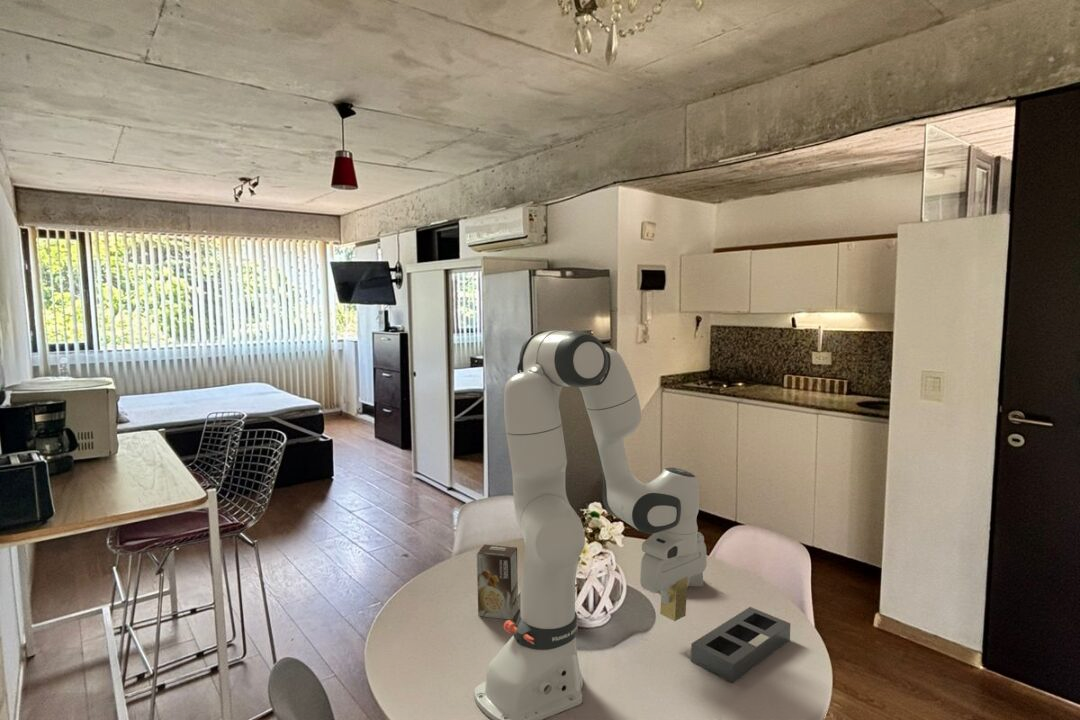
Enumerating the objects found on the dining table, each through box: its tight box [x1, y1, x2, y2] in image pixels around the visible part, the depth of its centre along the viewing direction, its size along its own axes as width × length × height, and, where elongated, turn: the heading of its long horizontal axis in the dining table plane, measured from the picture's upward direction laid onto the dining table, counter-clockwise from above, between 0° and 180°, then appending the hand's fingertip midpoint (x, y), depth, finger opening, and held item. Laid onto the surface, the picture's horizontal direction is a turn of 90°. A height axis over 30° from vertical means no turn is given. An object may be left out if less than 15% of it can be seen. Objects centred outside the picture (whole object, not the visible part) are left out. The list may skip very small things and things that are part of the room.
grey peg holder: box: [690, 606, 791, 684], centre depth 130 cm, size 24×10×4 cm, turn 131°
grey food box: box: [476, 544, 519, 621], centre depth 147 cm, size 9×6×16 cm
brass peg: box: [659, 577, 688, 622], centre depth 133 cm, size 4×4×9 cm
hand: (673, 599), depth 133 cm, fingers closed on brass peg, 4 cm apart
